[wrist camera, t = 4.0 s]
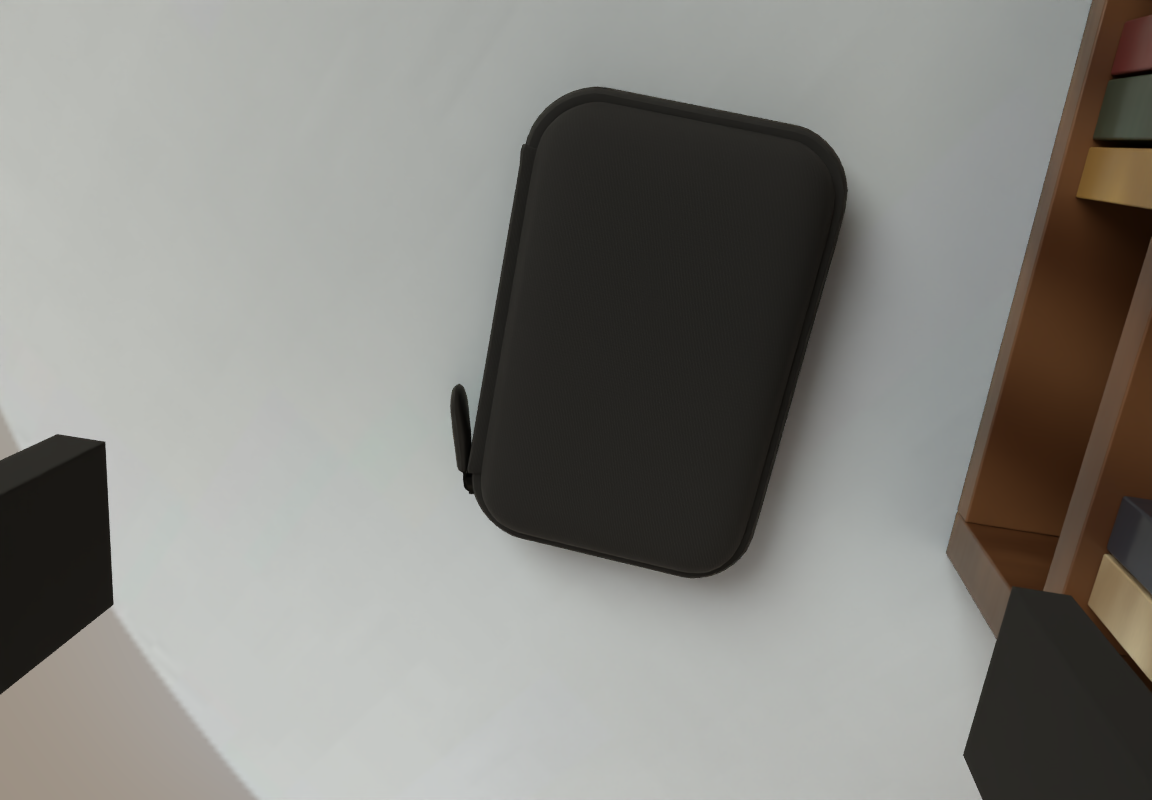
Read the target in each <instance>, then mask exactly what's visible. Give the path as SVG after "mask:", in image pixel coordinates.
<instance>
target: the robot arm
mask: <svg viewBox="0 0 1152 800" xmlns="http://www.w3.org/2000/svg"><path fill="white" fill-rule="evenodd" d="M112 605H113V586H112V567H111V547H110V527H109V507H108V488H107V468H106V448H105V442H103V441H97V440H90V439H84V438H78V437H71V436H65V435H59V434H57V435H55V436H53V437H50V438H48V439H46V440H44V441H42V442H39V443H37V444H35V445H33V446H31V447H29V448H26V449H24V450H22V451H20V452H18V453H16V454H14V455H11V456H9V457H7V458H5V459H3V460H1V461H0V694H1V693H3V692H4V691H5V690H6V689H8V688H9V687H10V686H12V685H13V684H14V683H15V682H17V681H18V680H19V679H20V678H22V677H23V676H24V675H25V674H27V673H28V672H29V671H30V670H32V669H33V668H34V667H35V666H37V665H38V664H39V663H40V662H42V661H43V660H44V659H45V658H47V657H48V656H49V655H51V654H52V653H53V652H54V651H56V650H57V649H58V648H59V647H61V646H62V645H63V644H64V643H66V642H67V641H68V640H69V639H71V638H72V637H73V636H74V635H76V634H77V633H78V632H79V631H80V630H81V629H83V628H84V627H86V626H87V625H88V624H90V623H91V622H92V621H93V620H95V619H96V618H97V617H98V616H100V615H101V614H102V613H103V612H105V611H106V610H107V609H108V608H110V607H111V606H112ZM963 756H964V758H965V760H966V763H967V765H968V767H969V770H970V772H971V774H972V776H973V779H974V781H975V783H976V786H977V788H978V790H979V793H980V795H981V797H982V799H983V800H1152V693H1151V692H1150V690H1149V689H1148V688H1147V687H1146V686H1145V684H1144V683H1143V682H1142V681H1141V679H1140V678H1139V677H1138V676H1137V675H1136V673H1135V672H1134V671H1133V670H1132V669H1131V667H1130V666H1129V665H1128V664H1127V663H1126V661H1125V660H1124V659H1123V658H1122V656H1121V655H1120V654H1119V653H1118V652H1117V650H1116V649H1115V648H1114V647H1113V646H1112V644H1111V643H1110V642H1109V641H1108V640H1107V638H1106V637H1105V636H1104V635H1103V633H1102V632H1101V631H1100V630H1099V629H1098V627H1097V626H1096V625H1095V624H1094V623H1093V621H1092V620H1091V619H1090V618H1089V617H1088V615H1087V614H1086V613H1085V612H1084V610H1083V609H1082V608H1081V607H1080V606H1079V604H1078V603H1077V602H1076V601H1075V600H1074V598H1073V597H1072V596H1071V595H1065V594H1059V593H1052V592H1046V591H1040V590H1033V589H1027V588H1021V587H1015V586H1012V590H1011V593H1010V596H1009V600H1008V603H1007V607H1006V610H1005V613H1004V617H1003V620H1002V624H1001V627H1000V631H999V634H998V637H997V641H996V644H995V648H994V651H993V655H992V658H991V661H990V665H989V668H988V672H987V675H986V679H985V682H984V685H983V689H982V692H981V696H980V699H979V703H978V706H977V709H976V713H975V716H974V720H973V723H972V727H971V730H970V733H969V737H968V740H967V744H966V747H965V751H964V754H963Z"/></svg>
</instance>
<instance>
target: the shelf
mask: <svg viewBox="0 0 1152 800" xmlns="http://www.w3.org/2000/svg"><path fill="white" fill-rule="evenodd" d="M946 554H947V556H948V557H949V559H950V561H951V562H952V564H953V566H954V568H955V569H956V571H957V573H958V574H959V576H960V578H961V579H962V581H963V583H964V585H965V586H966V588H967V590H968V591H969V593H970V595H971V596H972V598H973V600H974V602H975V603H976V605H977V607H978V608H979V610H980V612H981V614H982V615H983V617H984V619H985V620H986V622H987V624H988V625H989V627H990V629H991V631H992V632H993V634H994V636H995V637H996V639H997V637H998V634H999V631H1000V627H1001V624H1002V620H1003V617H1004V613H1005V610H1006V607H1007V603H1008V600H1009V596H1010V593H1011V590H1012V586H1015V587H1021V588H1027V589H1033V590H1040V591H1046V592H1052V593H1059V594H1065V595H1071V596H1072V597H1073V598H1074V600H1075V601H1076V602H1077V603H1078V604H1079V606H1080V607H1081V608H1082V609H1083V610H1084V612H1085V613H1086V614H1087V615H1088V617H1089V618H1090V619H1091V620H1092V621H1093V623H1094V624H1095V625H1096V626H1097V627H1098V629H1099V630H1100V631H1101V632H1102V633H1103V635H1104V636H1105V637H1106V638H1107V640H1108V641H1109V642H1110V643H1111V644H1112V646H1113V647H1114V648H1115V649H1116V650H1117V652H1118V653H1119V654H1120V655H1121V656H1122V658H1123V659H1124V660H1125V661H1126V663H1127V664H1128V665H1129V666H1130V667H1131V669H1132V670H1133V671H1134V672H1135V673H1136V675H1137V676H1138V677H1139V678H1140V679H1141V681H1142V682H1143V683H1144V684H1145V686H1146V687H1147V688H1148V689H1149V690H1150V692H1151V693H1152V0H1092V4H1091V8H1090V12H1089V15H1088V19H1087V23H1086V27H1085V30H1084V34H1083V38H1082V42H1081V45H1080V49H1079V53H1078V57H1077V61H1076V64H1075V68H1074V72H1073V76H1072V79H1071V83H1070V87H1069V91H1068V95H1067V98H1066V102H1065V106H1064V110H1063V113H1062V117H1061V121H1060V125H1059V129H1058V132H1057V136H1056V140H1055V144H1054V147H1053V151H1052V155H1051V159H1050V162H1049V166H1048V170H1047V174H1046V178H1045V181H1044V185H1043V189H1042V193H1041V196H1040V200H1039V204H1038V208H1037V212H1036V215H1035V219H1034V223H1033V227H1032V230H1031V234H1030V238H1029V242H1028V246H1027V249H1026V253H1025V257H1024V261H1023V264H1022V268H1021V272H1020V276H1019V279H1018V283H1017V287H1016V291H1015V295H1014V298H1013V302H1012V306H1011V310H1010V313H1009V317H1008V321H1007V325H1006V329H1005V332H1004V336H1003V340H1002V344H1001V347H1000V351H999V355H998V359H997V363H996V366H995V370H994V374H993V378H992V381H991V385H990V389H989V393H988V396H987V400H986V404H985V408H984V412H983V415H982V419H981V423H980V427H979V430H978V434H977V438H976V442H975V446H974V449H973V453H972V457H971V461H970V464H969V468H968V472H967V476H966V479H965V483H964V487H963V491H962V495H961V498H960V502H959V506H958V512H957V514H956V517H955V521H954V525H953V529H952V532H951V536H950V540H949V544H948V548H947V551H946Z"/></svg>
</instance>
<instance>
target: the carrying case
mask: <svg viewBox="0 0 1152 800" xmlns="http://www.w3.org/2000/svg"><path fill="white" fill-rule="evenodd" d="M847 192H848V189H847V181H846V176H845V172H844V169H843V166H842V164H841V162H840V159H839V158H838V156H837V154H836V153H835V151H834V150H833V149H832V147H831V146H830V145H829V144H828V143H827V142H826V141H825V140H824V139H823V138H821V137H820V136H819V135H818V134H816V133H814V132H813V131H811V130H809V129H807V128H804V127H801V126H798V125H793V124H788V123H783V122H778V121H773V120H768V119H763V118H758V117H753V116H747V115H742V114H737V113H732V112H727V111H722V110H717V109H712V108H707V107H702V106H697V105H692V104H687V103H682V102H677V101H672V100H667V99H662V98H657V97H652V96H647V95H642V94H637V93H632V92H626V91H621V90H616V89H611V88H606V87H589V88H583V89H579V90H576V91H573V92H570V93H568V94H566V95H564V96H562V97H560V98H559V99H557V100H556V101H554V102H553V103H552V104H550V105H549V106H548V107H547V108H546V109H545V110H544V111H543V112H542V113H541V114H540V116H539V117H538V118H537V120H536V121H535V123H534V124H533V126H532V128H531V130H530V133H529V135H528V137H527V141H526V144H523V145H522V149H521V155H520V166H519V172H518V178H517V184H516V189H515V195H514V201H513V207H512V213H511V219H510V224H509V230H508V236H507V242H506V248H505V253H504V259H503V265H502V271H501V277H500V283H499V288H498V294H497V300H496V306H495V312H494V317H493V323H492V329H491V335H490V341H489V346H488V352H487V358H486V364H485V370H484V376H483V381H482V387H481V393H480V399H479V405H478V410H477V416H476V422H475V428H474V434H473V440H472V442H471V427H470V418H469V407H468V399H467V395H466V392H465V389H464V387H463V386H462V385H460V384H458V385H456V386H455V387H454V388H453V390H452V395H451V405H450V407H451V419H452V429H453V438H454V445H455V452H456V461H457V467H458V470H460V471H461V472H463V482H464V487H465V489H466V490H468V491H469V494H474V495H475V497H476V500H477V502H478V504H479V506H480V507H481V509H482V510H483V512H484V513H485V515H486V516H487V517H488V518H489V519H490V520H491V521H492V522H493V523H494V524H495V525H496V526H498V527H499V528H500V529H502V530H503V531H505V532H507V533H508V534H510V535H512V536H515V537H518V538H522V539H526V540H530V541H535V542H539V543H543V544H547V545H551V546H555V547H560V548H564V549H568V550H572V551H576V552H580V553H585V554H589V555H593V556H597V557H601V558H605V559H610V560H614V561H618V562H622V563H626V564H630V565H635V566H639V567H643V568H647V569H651V570H655V571H659V572H664V573H668V574H672V575H676V576H680V577H686V578H702V577H708V576H712V575H715V574H718V573H720V572H722V571H724V570H726V569H727V568H729V567H730V566H732V565H733V564H734V563H736V562H737V561H738V560H739V559H740V558H741V557H742V556H743V554H744V553H745V552H746V551H747V549H748V546H749V544H750V542H751V540H752V538H753V535H754V532H755V528H756V525H757V522H758V518H759V515H760V512H761V508H762V505H763V501H764V497H765V494H766V490H767V487H768V483H769V480H770V476H771V472H772V469H773V465H774V462H775V458H776V455H777V451H778V448H779V444H780V440H781V437H782V433H783V430H784V426H785V423H786V419H787V415H788V412H789V408H790V405H791V401H792V398H793V394H794V390H795V387H796V383H797V380H798V376H799V373H800V369H801V366H802V362H803V359H804V355H805V352H806V348H807V345H808V341H809V338H810V334H811V330H812V327H813V323H814V320H815V316H816V313H817V309H818V306H819V302H820V299H821V295H822V292H823V288H824V285H825V281H826V278H827V274H828V271H829V267H830V264H831V260H832V257H833V253H834V250H835V246H836V242H837V239H838V235H839V231H840V227H841V224H842V220H843V216H844V212H845V208H846V200H847Z"/></svg>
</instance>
